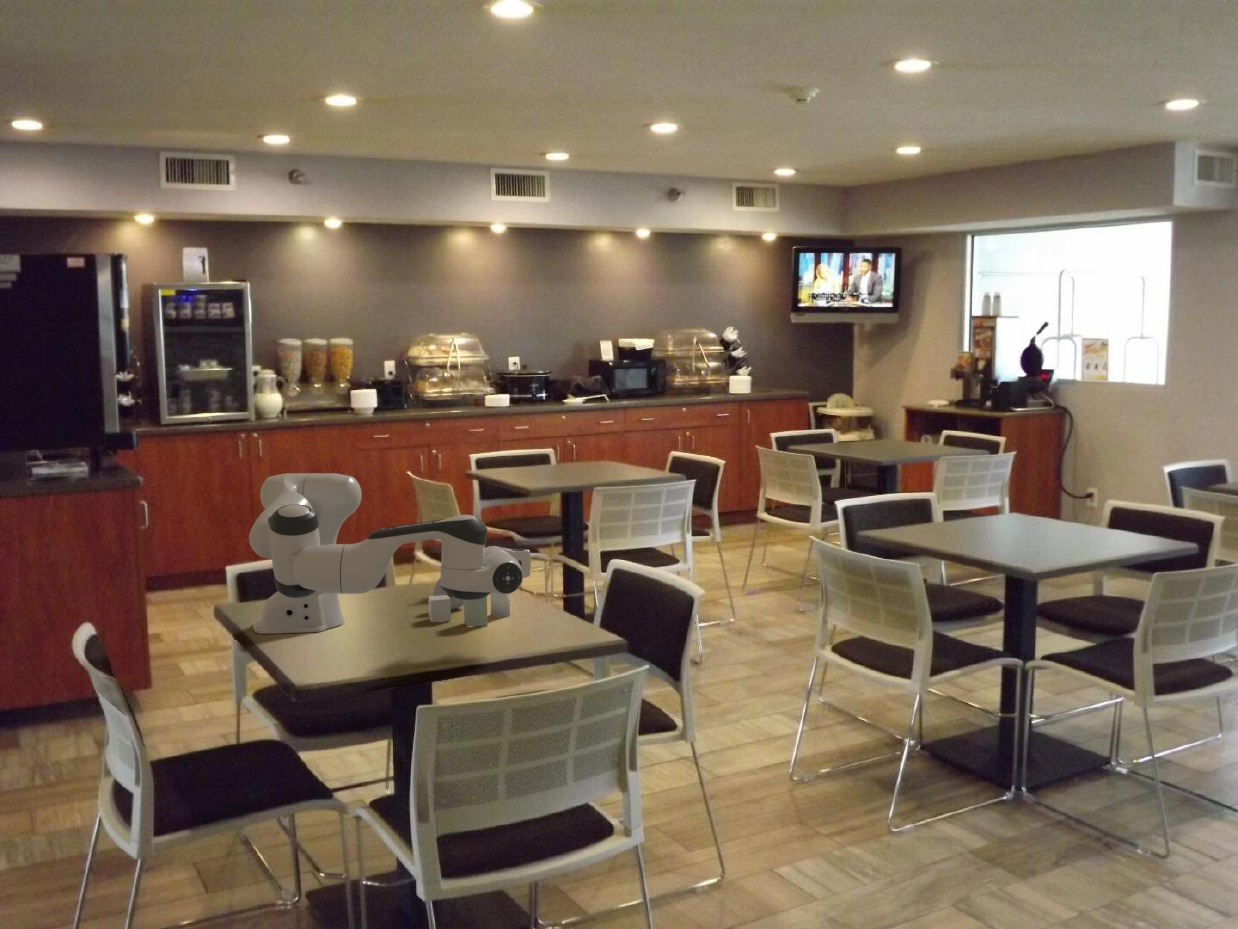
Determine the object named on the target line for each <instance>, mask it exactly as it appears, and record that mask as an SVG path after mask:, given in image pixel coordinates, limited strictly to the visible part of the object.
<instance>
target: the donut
mask: <svg viewBox="0 0 1238 929" xmlns="http://www.w3.org/2000/svg"><path fill="white" fill-rule="evenodd" d="M440 585H441V577H440V578H438V580H437V581H436V583H435V585H434V589H433V596H441V595H448V593H446V592H445V591H444V590H443V589H442V587H441V586H440ZM449 598H450V600H451V611H454V610H457V609H459V608H461V607H462V606H464V599H458V598H455V597H452V596H451V597H450V596H449Z"/></svg>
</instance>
